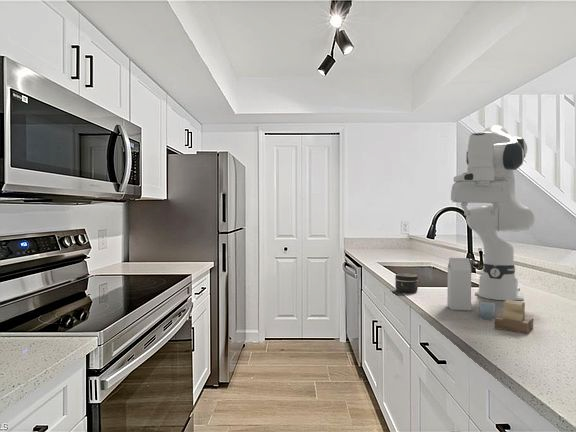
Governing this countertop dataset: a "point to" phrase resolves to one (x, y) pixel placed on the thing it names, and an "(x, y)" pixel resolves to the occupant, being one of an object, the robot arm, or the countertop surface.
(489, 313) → the ceramic cylinder
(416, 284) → the jar
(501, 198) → the robot arm
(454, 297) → the milk carton
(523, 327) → the walnut pedestal
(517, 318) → the oak cube
